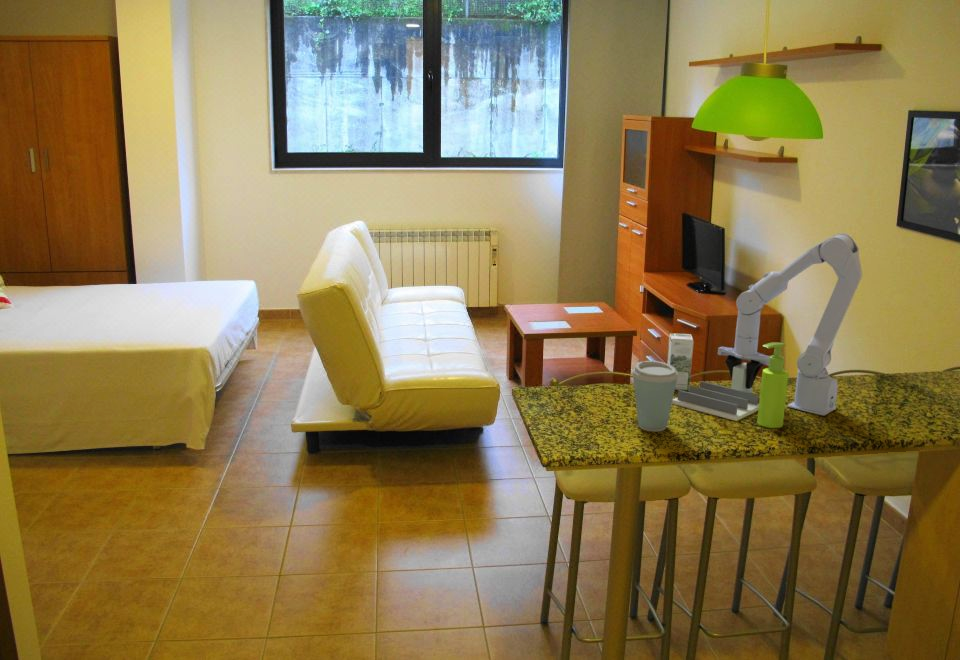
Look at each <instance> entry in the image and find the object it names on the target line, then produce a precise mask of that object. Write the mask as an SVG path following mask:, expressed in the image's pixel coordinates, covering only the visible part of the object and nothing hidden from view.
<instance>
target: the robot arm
mask: <svg viewBox="0 0 960 660" xmlns="http://www.w3.org/2000/svg"><path fill="white" fill-rule="evenodd" d="M859 253H860V252H859V246H858V245H857V244H856V242H855V240H854V239H853V237H852V236H850V235H849V234H846V233H837V234H834V235H833V236H832V237H829V238H826V239H825V240H824V241H822V242H820V243H818V244H817V245H815V246H812V247H811V248H809V249H807V250H806V251H805V252H804V253H802V254H801V255H800V256H798V257H797V258H796V259H795V260H793V261H792V262H791V263H790V264H787V266H785V268H783V269H782V270H780V271H775V270H772V271H770V272H769V271H767V272H765V273H764V274H763V275H762V277H763V278H761V279H760V280H758V281H757V282H755V284H750V285H749V286H748V290H746V291H743V292H741V293H740V294H739V295H738V296H737V298H736V302H735V305H736V309H737V310H738V311H737V318H736V328H735V336H734V339H735V340H734V347H728V346H720V347H718V348H717V355H718V356H727V358H725V364H726V366H727V368H728V372H729V374H730V380H731V382H732V375H733V367H734V366H737V365H739V364H742V363H743V360H745V361H748V362H746V363H747V364H746V367H747V382H746V388H747V389H750V388H752V389H753V385H754V382H755V379H756V377H757V375H758V373H760V370H761V369H762V368H763V366H764V365H765V366H767V367H769V358H770V356H771V355H767V354H766V355H765V354H764V353H760V352H758V345H759V335H760V326H761V312H762V311H761V310H762V309H763V308H764V306H765V305H767V304H768V303H770V302H771V301H773V300H774V299H775V298H777V297H778V296H779V295H781V294H782V293H783V292H785V291H786V290H787V289H788V285H789V282H790V281H791V280H792V279H793V278H796V277H797V276H798V275H799V274H801V273H802V272H804V271H805V270H807V269H808V268H810V267H811V266H813V265H815V264H816V265H819V264H823V263H826V264H827V265H829V266H830V267H831V268H832V269H833V271H834V273H835V274H836V276H837V280H836V284H835V285H834V289H833V290H832V292H831V294H830V297H829V299H828V302H827V304H826V307H825V309H824V311H823V314H822V315H821V318H820V320H819V323H818V325H817V327H816V330H815V332H814V334H813V336H812V338H811V340H810V341H809V343H808V344H807V347H806V349H805V351H804V352H803V353H801V354H799V356H798V358H797V361H796V366H797V375H796V384H795V393H794V400H793V401H792V402H790V403H789V404H787V408H791V409H795V410H800V411H803V412H807V413H811V414H815V415H819V416H826V415H828V414H829V413H832V412H833V411H834V410H836V409H837V407H836V404H837V403H836V402H837V394H838V385H839V384H838V380H837V379H836V378H835V377H834V378H833V377H830V375H829V372H828V369H827V367H828V366H829V365H830V363H831V361H832V348H833V346H834V341H835V338H836V337H837V334H838V332H839V330H840V327H841V325H842V323H843V321H844V318H845V317H846V314H847V311H848V310H849V307H850V305H851V303H852V301H853V298H854V295H855V293H856V292H857V289H858V287H859V284H860V282H861V280H862V278H863V270H862V266H861V260H860V256H859ZM749 361H750V362H749Z"/></svg>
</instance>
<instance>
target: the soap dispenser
mask: <svg viewBox="0 0 960 660" xmlns="http://www.w3.org/2000/svg"><path fill="white" fill-rule="evenodd" d="M786 346H787V344H786V343H784V342H776V341H774V342H773V341H772V342H768V343H765V344H762V348H765V349H767V350H769V349H773V348H774V349H773V354H772V355H769V356H770V358H769V366H767V367H766V368H763V369H762V373H761V383H760V392H759V399H758V403H759V409H758V411H757V420H756V423H757V424H758V425H759V426H761V427H764V428H770V429H778V428H781V427H782V428H783V426H784V419H785V418H784V417H785V410H786V409H785V408H786V399H787V389H788V381H789V374H790V373H789V371H787V370H785V369H784V368H785V367H784V366H785V356H783V355H782V351H783V348H786Z"/></svg>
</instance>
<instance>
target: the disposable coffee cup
mask: <svg viewBox="0 0 960 660" xmlns="http://www.w3.org/2000/svg"><path fill="white" fill-rule="evenodd" d="M631 374H632V375H631V376H632V377H633V386H634V387H633V389H634V395H635V396H634V397H635V405H636V406H635V408H636V415H637V425H638V427H639V428H640V429H642V430H644V431H647V432H655V433H656V432H663V431H664V430H666V428H667V427H668V423H669V418H670V412H671V409H672V405H673V404H672V400H673V399H674V395H675V391H676V390H675V386H676V381H677V379H678V372H677V371H676V369H675V368H674V367H672V366H671V365H669V364H667V362H666V363H665V362H662V361H659V360H642V361H639V362H636V363H635V366H634V367H633V369H632V373H631Z"/></svg>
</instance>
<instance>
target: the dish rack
mask: <svg viewBox="0 0 960 660" xmlns="http://www.w3.org/2000/svg"><path fill="white" fill-rule="evenodd" d="M759 397H760V394H756V393H753V392H752V393H749V392H745V391H741V390H736V389H732V388H731V387H728V386H724V385H719V384H716V383H711V382H707V381H703V380H701V381H700V382H699V387H698V386H695V385H691V384H690V385H689V391H682V390H677V397H675V398H673V400H672V405H676V406H680V407H682V408H686V409H690V410H695V411H697V412H701V413H705V414H709V415H712V416H715V417H716V416H717V417H721V418H724V419H727V420H731V421H734V422H738V421H740V420H741V419H744V418H746V417H748V416H750V415H752V414H754V413H756V412H758V409H759Z"/></svg>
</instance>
